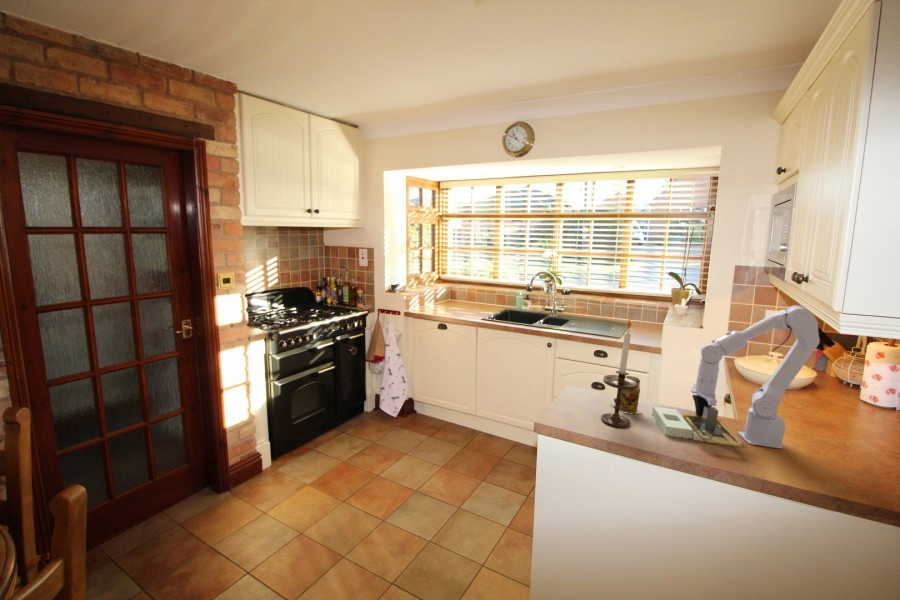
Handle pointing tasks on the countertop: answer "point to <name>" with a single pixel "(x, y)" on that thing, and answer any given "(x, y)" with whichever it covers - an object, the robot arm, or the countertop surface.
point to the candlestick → (620, 387)
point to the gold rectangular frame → (696, 418)
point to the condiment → (630, 399)
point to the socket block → (711, 435)
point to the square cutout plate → (672, 422)
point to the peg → (709, 422)
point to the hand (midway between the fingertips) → (700, 417)
